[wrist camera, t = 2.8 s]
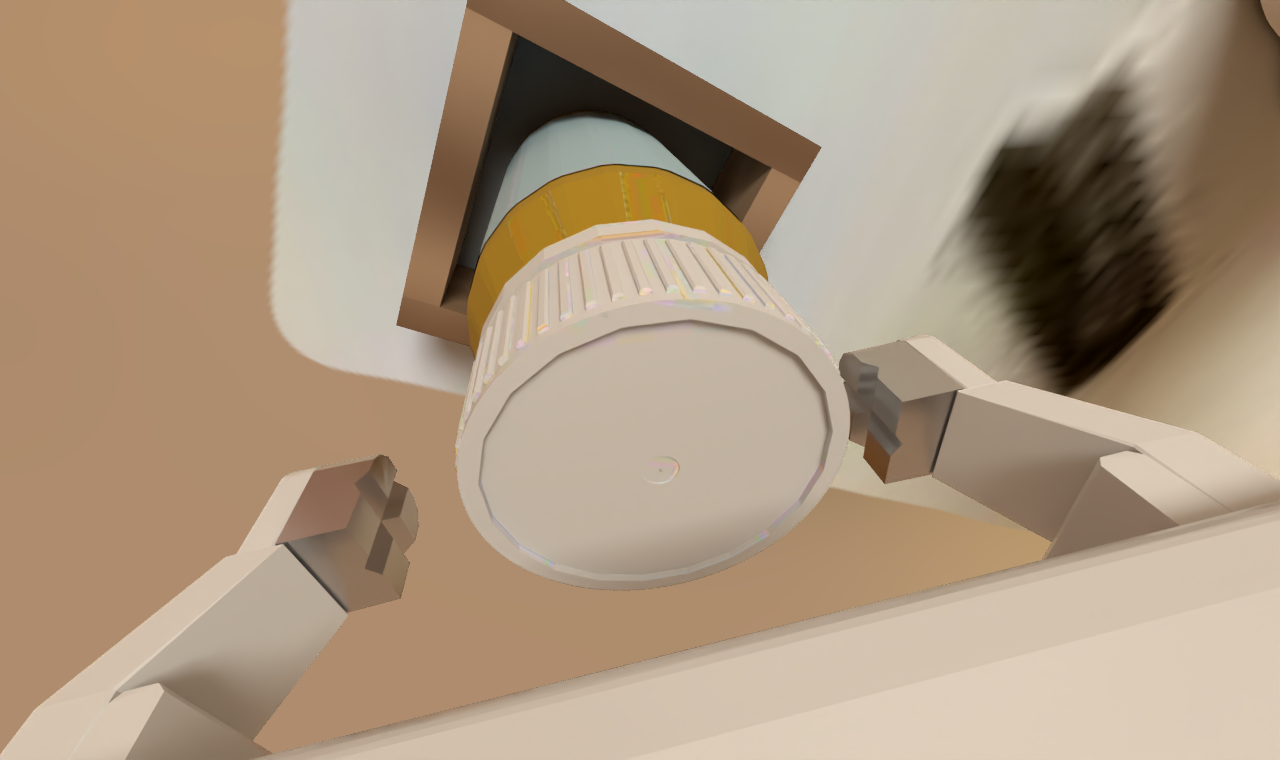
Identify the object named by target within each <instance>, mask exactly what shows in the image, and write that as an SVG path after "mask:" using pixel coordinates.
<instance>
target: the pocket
mask: <svg viewBox="0 0 1280 760" xmlns="http://www.w3.org/2000/svg"><path fill="white" fill-rule="evenodd" d="M519 35H520V36H522V37H524V38H526V39H528V40H529V41H531V42H533V43H535V44H537V45H539V46H541V47H543V48H545V49H547V50H548V51H550V52H552V53H554V54H556V55H558V56H560V57H562V58H564V59H566V60H567V61H569V62H571V63H573V64H575V65H577V66H579V67H581V68H583V69H585V70H587V71H588V72H590V73H592V74H594V75H596V76H598V77H600V78H602V79H604V80H606V81H607V82H609V83H611V84H613V85H615V86H617V87H619V88H621V89H623V90H625V91H626V92H628V93H630V94H632V95H634V96H636V97H638V98H640V99H642V100H644V101H646V102H647V103H649V104H651V105H653V106H655V107H657V108H659V109H661V110H663V111H665V112H666V113H668V114H670V115H672V116H674V117H676V118H678V119H680V120H682V121H684V122H685V123H687V124H689V125H691V126H693V127H695V128H697V129H699V130H701V131H703V132H704V133H706V134H708V135H710V136H712V137H714V138H716V139H718V140H720V141H722V142H724V143H725V144H727V145H729V146H731V147H733V150H732V152H731V154H730V155H729V157H728V159H727V161H726V163H725V165H724V167H723V169H722V171H721V173H720V175H719V177H718V179H717V181H716V183H715V185H714V187H713V189H712V192H713V193H714V194H715V195H716V196H717V197H718V198H719V199H720V200H721V201H722V202H723V203H724V204H725V205H726V206H727V207H728V208H729V209H730V210H731V211H732V212H733V213H734V214H735V215H736V216H737V217H738V218H739V220H740V221H741V223H742V224H743V225H744V226H745V227H746V229H747V230H748V232H749V233H750V234H751V236H752V238H753V240H754V242H755V244H756V247H757V249H758V251H759V253H760V251H761V249H762V247H763V246H764V244H765V242H766V241H767V239H768V237H769V236H770V234H771V232H772V230H773V229H774V227H775V225H776V224H777V222H778V220H779V219H780V217H781V215H782V214H783V212H784V210H785V208H786V207H787V205H788V203H789V202H790V200H791V198H792V197H793V195H794V193H795V192H796V190H797V188H798V186H799V185H800V183H801V181H802V180H803V178H804V176H805V175H806V173H807V171H808V169H809V168H810V166H811V164H812V163H813V161H814V159H815V158H816V156H817V154H818V153H819V151H820V149H821V147H820V146H819V145H817V144H815V143H813V142H812V141H810V140H808V139H806V138H805V137H803V136H801V135H799V134H798V133H796V132H794V131H792V130H791V129H789V128H787V127H785V126H784V125H782V124H780V123H778V122H777V121H775V120H773V119H771V118H770V117H768V116H766V115H764V114H763V113H761V112H759V111H757V110H756V109H754V108H752V107H750V106H749V105H747V104H745V103H743V102H742V101H740V100H738V99H736V98H735V97H733V96H731V95H729V94H727V93H726V92H724V91H722V90H720V89H719V88H717V87H715V86H713V85H712V84H710V83H708V82H706V81H705V80H703V79H701V78H699V77H698V76H696V75H694V74H692V73H691V72H689V71H687V70H685V69H684V68H682V67H680V66H678V65H677V64H675V63H673V62H671V61H670V60H668V59H666V58H664V57H663V56H661V55H659V54H657V53H656V52H654V51H652V50H650V49H649V48H647V47H645V46H643V45H642V44H640V43H638V42H636V41H635V40H633V39H631V38H629V37H628V36H626V35H624V34H622V33H621V32H619V31H617V30H615V29H614V28H612V27H610V26H608V25H606V24H605V23H603V22H601V21H599V20H598V19H596V18H594V17H592V16H591V15H589V14H587V13H585V12H584V11H582V10H580V9H578V8H577V7H575V6H573V5H571V4H570V3H568V2H566V1H564V0H467V5H466V10H465V14H464V19H463V23H462V28H461V32H460V37H459V42H458V46H457V51H456V55H455V60H454V64H453V69H452V74H451V78H450V83H449V87H448V92H447V96H446V101H445V105H444V110H443V115H442V119H441V124H440V128H439V133H438V137H437V142H436V147H435V151H434V156H433V160H432V165H431V169H430V174H429V179H428V183H427V188H426V192H425V197H424V201H423V206H422V211H421V215H420V220H419V224H418V229H417V233H416V238H415V243H414V247H413V252H412V256H411V261H410V265H409V270H408V275H407V279H406V284H405V288H404V293H403V297H402V302H401V307H400V311H399V316H398V320H397V326H401V327H404V328H408V329H411V330H415V331H418V332H422V333H425V334H429V335H432V336H436V337H439V338H443V339H446V340H450V341H453V342H457V343H461V344H464V345H468V346H471V345H470V338H469V328H468V319H467V304H468V298H469V294H470V287H471V283H472V279H473V276H474V272H475V270H474V269H471V268H468V267H465V266H462V265H459V264H457V263H458V259H459V255H460V251H461V248H462V244H463V240H464V237H465V233H466V229H467V226H468V222H469V218H470V214H471V211H472V207H473V203H474V200H475V196H476V192H477V188H478V185H479V181H480V177H481V174H482V170H483V166H484V163H485V159H486V155H487V151H488V148H489V144H490V140H491V137H492V133H493V129H494V126H495V122H496V118H497V114H498V111H499V107H500V103H501V100H502V96H503V92H504V89H505V85H506V81H507V77H508V74H509V70H510V66H511V63H512V59H513V55H514V51H515V48H516V44H517V40H518V37H519Z"/></svg>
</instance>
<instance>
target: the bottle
mask: <svg viewBox="0 0 1280 760" xmlns="http://www.w3.org/2000/svg"><path fill="white" fill-rule="evenodd" d="M467 319H468V328H469V338H470V345H471V349H472V352H473V356H474V358H475V361H474V363H473V367H472V371H471V376H470V380H469V385H468V389H467V393H466V398H465V402H464V407H463V411H462V415H461V419H460V424H459V428H458V432H457V435H458V437H457V441H456V446H455V454H456V456H457V458H456V462H455V470H456V472H457V475H458V486H459V490H460V495H461V498H462V501H463V504H464V507H465V509H466V512H467V514H468V516H469V518H470V519H471V521H472V523H473V524H474V526H475V527H476V529H477V530H478V532H479V533H480V534H481V535H482V537H483V538H484V539H485V540H486V541H487V542H488V543H489V544H490V545H491V546H492V547H493V548H494V549H495V550H497V551H498V552H499V553H500V554H502V555H503V556H504V557H505V558H507V559H508V560H510V561H511V562H513V563H514V564H516V565H518V566H520V567H522V568H523V569H525V570H527V571H529V572H531V573H534V574H536V575H538V576H541V577H544V578H546V579H549V580H552V581H556V582H559V583H563V584H567V585H571V586H577V587H582V588H590V589H599V590H643V589H652V588H660V587H666V586H671V585H676V584H681V583H685V582H689V581H693V580H696V579H700V578H703V577H706V576H709V575H712V574H715V573H717V572H720V571H722V570H725V569H728V568H730V567H732V566H734V565H737V564H738V563H741V562H743V561H745V560H747V559H749V558H750V557H752V556H754V555H756V554H758V553H759V552H761V551H762V550H764V549H766V548H767V547H769V546H770V545H772V544H773V543H775V542H776V541H778V540H779V539H780V538H782V537H783V536H784V535H786V534H787V533H788V532H789V531H791V530H792V529H793V528H794V527H795V526H796V525H797V524H799V522H800V521H802V520H803V519H804V518H805V517H806V516H807V515H808V513H810V511H811V510H812V509H813V508H814V507H815V506H816V505H817V503H818V502H819V501H820V500H821V498H822V497H823V495H824V494H825V493H826V491H827V489H828V488H829V487H830V485H831V483H832V482H833V480H834V478H835V476H836V474H837V472H838V470H839V468H840V465H841V463H842V460H843V458H844V455H845V451H846V448H847V443H848V438H849V431H850V409H849V402H848V397H847V393H846V390H845V387H844V384H843V382H842V379H841V377H840V372H839V369H838V367H837V366H836V365H835V364H834V363H833V362H832V361H833V357H832V355H831V354H830V352H829V351H828V350H827V349H826V348H825V346H824V345H823V343H822V341H821V340H820V339H819V338H818V336H817V335H816V334H815V333H814V332H813V331H812V330H811V329H810V328H809V326H808V325H807V324H806V323H805V322H804V321H803V320H802V319H801V318H800V316H799V315H798V314H797V313H796V312H795V311H794V310H793V309H792V308H791V306H790V305H789V304H788V303H787V302H786V301H785V300H784V299H783V298H782V296H781V295H780V294H779V293H778V292H777V291H776V290H775V289H774V288H773V286H771V285H770V284H769V283H768V276H767V272H766V268H765V265H764V263H763V260H762V258H761V256H760V254H759V251H758V249H757V247H756V244H755V242H754V240H753V238H752V236H751V234H750V233H749V232H748V230H747V229H746V227H745V226H744V225H743V224H742V223H741V221H740V220H739V218H738V217H737V216H736V215H735V214H734V213H733V212H732V211H731V210H730V209H729V208H728V207H727V206H726V205H725V204H724V203H723V202H722V201H721V200H720V199H719V198H718V197H717V196H716V195H715V194H714V193H713V192H712V191H711V190H710V189H709V188H708V187H707V186H706V185H705V184H703V183H702V182H701V181H700V180H699V179H698V178H697V177H696V176H695V175H694V174H693V173H692V172H691V171H690V170H689V169H688V168H686V167H685V166H684V165H683V164H682V163H681V162H680V161H679V160H678V159H677V158H676V157H675V156H674V155H673V154H672V153H671V152H669V151H668V150H667V149H666V148H665V147H664V146H663V145H662V144H661V143H660V142H659V141H658V140H657V139H656V138H655V137H654V136H652V135H651V134H650V133H649V132H648V131H647V130H646V129H644V128H643V127H641V126H640V125H638V124H636V123H634V122H631V121H629V120H627V119H625V118H623V117H621V116H619V115H616V114H613V113H609V112H599V111H589V110H584V111H576V112H573V113H569V114H565V115H561V116H558V117H555V118H553V119H551V120H549V121H547V122H546V123H545V124H543V125H542V126H540V127H539V128H537V129H536V130H535V131H533V132H532V133H530V134H529V135H528V136H527V137H526V139H525V140H524V141H523V143H522V144H521V145H520V147H519V148H518V150H517V151H516V153H515V154H514V156H513V157H512V159H511V160H510V162H509V165H508V167H507V169H506V172H505V175H504V178H503V182H502V185H501V188H500V191H499V194H498V197H497V200H496V204H495V207H494V210H493V213H492V216H491V219H490V222H489V225H488V229H487V232H486V235H485V238H484V241H483V244H482V247H481V251H480V254H479V257H478V261H477V265H476V268H475V272H474V276H473V279H472V283H471V287H470V294H469V298H468V304H467Z"/></svg>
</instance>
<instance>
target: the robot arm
mask: <svg viewBox="0 0 1280 760" xmlns="http://www.w3.org/2000/svg"><path fill="white" fill-rule="evenodd" d="M1260 2H1261V5H1262V9H1263V11H1264V14H1265V16H1266V19H1267V20H1268V22H1269V24H1270V26H1271V27H1272V28H1273V29H1274V31H1275V32H1276V33H1277V35H1278V36H1279V37H1280V0H1260ZM839 372H840V376H841V377H842V378H843V379H844V380H845V381H844V383H843V384H844V387H845V390H846V393H847V397H848V402H849V409H850V431H849V438H848V439H849V440H850V441H852V442H855V443H857V444H859V445H861V446H864V447H865V449H864V456H863V458H864V459H865V460H866V461H867V463H868V464H869V465H870V466H871V468H872V469H873V470H874V471H875V473H876V474H877V475H878V476H879V478H880V479H881V480H882V481H883V483H884V484H887V483H892V482H897V481H902V480H906V479H911V478H916V477H921V476H926V475H930V474H932V477H934V478H935V479H937V480H939V481H941V482H943V483H945V484H946V485H948V486H950V487H952V488H954V489H956V490H957V491H959V492H961V493H963V494H965V495H967V496H968V497H970V498H972V499H974V500H976V501H978V502H979V503H981V504H983V505H985V506H987V507H989V508H990V509H992V510H994V511H996V512H998V513H1000V514H1001V515H1003V516H1005V517H1007V518H1009V519H1011V520H1013V521H1014V522H1016V523H1018V524H1020V525H1022V526H1024V527H1025V528H1027V529H1029V530H1031V531H1033V532H1035V533H1036V534H1038V535H1040V536H1042V537H1044V538H1046V539H1047V540H1050V541H1051V542H1052V543H1051V544H1050V546H1049V548H1048V550H1047V552H1046V553H1045V555H1044V557H1043V558H1042V560H1041V561H1037V562H1033V563H1029V564H1025V565H1021V566H1017V567H1013V568H1009V569H1005V570H1001V571H997V572H993V573H990V574H985V575H982V576H977V577H973V578H969V579H966V580H961V581H957V582H953V583H949V584H945V585H941V586H938V587H934V588H930V589H926V590H922V591H918V592H914V593H910V594H906V595H902V596H898V597H894V598H890V599H886V600H882V601H878V602H874V603H870V604H866V605H862V606H858V607H854V608H850V609H846V610H842V611H838V612H834V613H830V614H827V615H823V616H818V617H814V618H810V619H806V620H803V621H799V622H795V623H791V624H787V625H783V626H779V627H775V628H771V629H767V630H763V631H759V632H755V633H751V634H747V635H743V636H739V637H735V638H731V639H728V640H723V641H720V642H715V643H711V644H707V645H703V646H699V647H695V648H691V649H687V650H684V651H680V652H675V653H672V654H668V655H664V656H660V657H656V658H652V659H648V660H644V661H640V662H636V663H632V664H628V665H624V666H620V667H616V668H612V669H608V670H605V671H600V672H596V673H593V674H589V675H585V676H580V677H577V678H573V679H569V680H565V681H561V682H557V683H553V684H549V685H545V686H541V687H537V688H533V689H529V690H525V691H521V692H517V693H513V694H509V695H505V696H501V697H497V698H493V699H489V700H485V701H481V702H477V703H473V704H469V705H466V706H461V707H457V708H453V709H449V710H445V711H442V712H437V713H434V714H429V715H425V716H422V717H418V718H414V719H410V720H406V721H402V722H398V723H394V724H390V725H386V726H382V727H378V728H374V729H370V730H366V731H362V732H358V733H354V734H350V735H346V736H342V737H338V738H334V739H330V740H326V741H322V742H319V743H314V744H310V745H306V746H303V747H298V748H295V749H290V750H286V751H282V752H278V753H274V754H273V753H271V752H270V751H268V750H267V749H265V748H264V747H262V746H260V745H259V744H257V743H255V742H254V741H253V739H254V738H255V737H256V736H257V734H258V733H259V732H260V730H261V729H262V728H263V726H264V725H265V724H266V722H267V721H268V720H269V718H270V717H271V716H272V715H273V713H274V712H275V711H276V709H277V708H278V707H279V705H280V704H281V703H282V701H283V700H284V699H285V698H286V696H287V695H288V694H289V692H290V691H291V690H292V688H293V687H294V686H295V684H296V683H297V682H298V681H299V679H300V678H301V677H302V675H303V674H304V673H305V671H306V670H307V669H308V668H309V666H310V665H311V664H312V662H313V661H314V660H315V658H316V657H317V656H318V654H319V653H320V652H321V650H322V649H323V648H324V647H325V645H326V644H327V643H328V641H329V640H330V639H331V637H332V636H333V635H334V633H335V632H336V631H337V630H338V628H339V627H340V626H341V624H342V623H343V622H344V620H345V619H346V618H347V616H348V613H347V612H351V611H355V610H359V609H363V608H366V607H370V606H374V605H378V604H382V603H385V602H389V601H393V600H397V599H400V598H401V596H402V592H403V588H404V584H405V580H406V576H407V572H408V568H409V564H410V562H409V561H408V559H407V558H406V556H405V555H404V553H405V551H406V550H407V549H408V548H409V547H410V546H411V545H412V544H413V542H414V541H415V540H416V536H417V531H418V527H419V524H418V509H417V506H416V503H415V500H414V497H413V495H412V494H411V492H410V490H409V489H408V488H407V487H405V486H403V485H401V484H399V483H397V482H395V481H394V479H395V475H396V473H397V469H396V468H395V466H394V465H393V463H392V462H391V460H390V459H389V457H387V456H384V455H375V456H370V457H365V458H360V459H354V460H349V461H344V462H339V463H334V464H329V465H325V466H321V467H315V468H311V469H306V470H301V471H296V472H292V473H290V474H288V475H286V476H285V477H283V478H282V479H281V481H280V483H279V484H278V486H277V488H276V490H275V491H274V493H273V494H272V496H271V498H270V499H269V501H268V503H267V505H266V506H265V508H264V509H263V511H262V513H261V514H260V516H259V517H258V519H257V521H256V523H255V524H254V526H253V528H252V529H251V531H250V533H249V534H248V536H247V537H246V539H245V541H244V542H243V544H242V546H241V547H240V549H239V551H238V552H237V554H236V555H232V556H227V557H225V558H224V559H222V560H221V561H220V562H219V563H217V564H216V565H215V566H214V567H212V568H211V569H210V570H209V571H207V572H206V573H205V574H204V575H202V576H201V577H200V578H199V579H197V580H196V581H195V582H194V583H192V584H191V585H190V586H189V587H187V588H186V589H185V590H184V591H182V592H181V593H180V594H179V595H177V596H176V597H175V598H174V599H172V600H171V601H170V602H169V603H167V604H166V605H165V606H164V607H163V608H161V609H160V610H158V611H157V612H156V613H155V614H153V615H152V616H151V617H150V618H148V619H147V620H146V621H145V622H143V623H142V624H141V625H140V626H139V627H137V628H136V629H135V630H134V631H132V632H131V633H130V634H128V635H127V636H126V637H125V638H123V639H122V640H121V641H120V642H118V643H117V644H116V645H115V646H114V647H112V648H111V649H110V650H108V651H107V652H106V653H105V654H103V655H102V656H101V657H100V658H98V659H97V660H96V661H95V662H94V663H92V664H91V665H90V666H88V667H87V668H86V669H85V670H83V671H82V672H81V673H80V674H78V675H77V676H76V677H75V678H73V679H72V680H71V681H70V682H68V683H67V684H66V685H65V686H63V687H62V688H61V689H60V690H58V691H57V692H56V693H55V694H53V695H52V696H51V697H50V698H48V699H47V700H46V701H45V702H43V703H42V704H41V705H40V706H38V707H37V708H36V709H35V710H34V711H33V712H32V714H31V715H30V716H29V718H28V719H27V720H26V722H25V723H24V724H23V725H22V727H21V728H20V729H19V731H18V732H17V733H16V735H15V736H14V737H13V739H12V740H11V741H10V742H9V744H8V745H7V746H6V748H5V749H4V750H3V752H2V753H1V754H0V760H1280V481H1279V480H1278V479H1276V478H1274V477H1272V476H1271V475H1269V474H1267V473H1266V472H1264V471H1262V470H1261V469H1259V468H1257V467H1255V466H1254V465H1252V464H1250V463H1249V462H1247V461H1245V460H1243V459H1242V458H1240V457H1238V456H1237V455H1235V454H1233V453H1232V452H1230V451H1228V450H1226V449H1225V448H1223V447H1221V446H1220V445H1218V444H1216V443H1214V442H1213V441H1211V440H1209V439H1208V438H1206V437H1204V436H1203V435H1201V434H1199V433H1197V432H1194V431H1191V430H1187V429H1183V428H1180V427H1176V426H1172V425H1169V424H1165V423H1161V422H1158V421H1154V420H1150V419H1147V418H1143V417H1139V416H1136V415H1132V414H1128V413H1125V412H1121V411H1117V410H1114V409H1110V408H1106V407H1103V406H1099V405H1095V404H1092V403H1088V402H1084V401H1081V400H1077V399H1073V398H1069V397H1066V396H1062V395H1058V394H1055V393H1051V392H1047V391H1044V390H1040V389H1036V388H1033V387H1029V386H1025V385H1022V384H1018V383H1014V382H1011V381H1007V380H1004V381H999V382H996V381H995V380H993V379H992V378H991V377H989V376H988V375H986V374H985V373H984V372H982V371H981V370H980V369H978V368H977V367H975V366H974V365H973V364H971V363H970V362H969V361H967V360H966V359H964V358H963V357H962V356H960V355H959V354H957V353H956V352H955V351H953V350H952V349H951V348H949V347H948V346H946V345H945V344H944V343H942V342H941V341H939V340H938V339H937V338H935V337H934V336H931V335H927V334H922V335H918V336H914V337H910V338H906V339H902V340H898V341H897V342H893V343H889V344H884V345H880V346H875V347H871V348H866V349H862V350H857V351H853V352H848V353H844V354H843V356H842V358H841V360H840V363H839Z"/></svg>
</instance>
